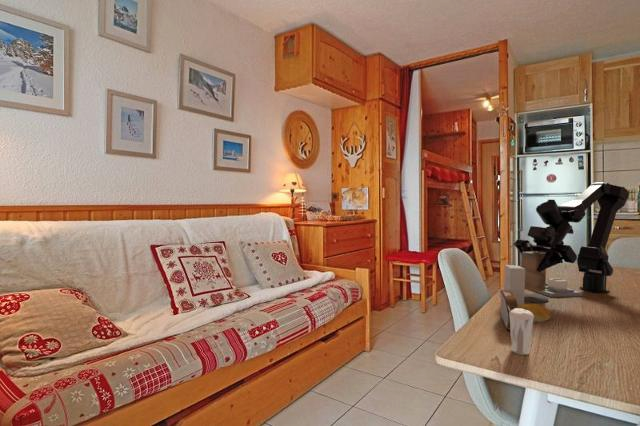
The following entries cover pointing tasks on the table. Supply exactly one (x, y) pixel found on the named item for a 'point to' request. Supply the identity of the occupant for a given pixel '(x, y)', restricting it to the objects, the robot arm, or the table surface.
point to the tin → (507, 300)
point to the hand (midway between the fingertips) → (530, 269)
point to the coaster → (535, 298)
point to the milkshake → (520, 330)
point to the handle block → (533, 271)
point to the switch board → (559, 292)
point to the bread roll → (537, 311)
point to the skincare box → (515, 281)
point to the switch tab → (557, 283)
